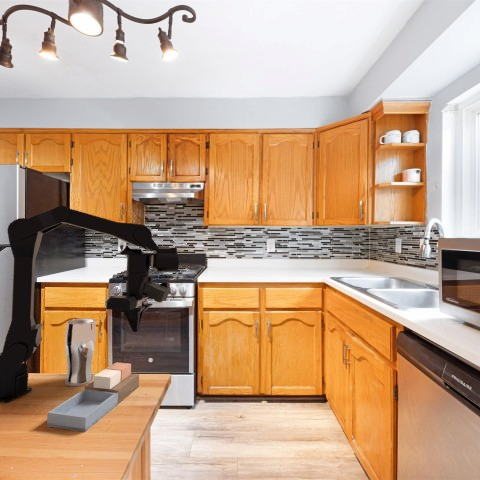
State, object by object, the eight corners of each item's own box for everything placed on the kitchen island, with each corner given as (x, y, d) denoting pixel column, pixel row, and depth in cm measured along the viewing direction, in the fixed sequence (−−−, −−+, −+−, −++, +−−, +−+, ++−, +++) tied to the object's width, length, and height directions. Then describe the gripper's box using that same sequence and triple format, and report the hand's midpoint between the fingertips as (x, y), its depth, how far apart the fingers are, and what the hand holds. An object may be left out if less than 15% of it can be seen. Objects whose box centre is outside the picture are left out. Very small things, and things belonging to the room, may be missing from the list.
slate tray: (46, 426, 57) (47, 412, 57) (84, 400, 68) (84, 388, 68) (85, 431, 56) (85, 417, 56) (117, 404, 66) (118, 392, 66)
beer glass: (56, 383, 76) (59, 321, 77) (82, 373, 82) (85, 317, 83) (74, 389, 73) (77, 325, 73) (100, 379, 79) (102, 320, 79)
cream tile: (93, 387, 67) (93, 375, 67) (104, 380, 71) (105, 369, 71) (110, 389, 67) (110, 377, 67) (120, 381, 71) (120, 370, 71)
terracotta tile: (105, 379, 72) (106, 368, 72) (115, 372, 76) (116, 362, 76) (121, 380, 71) (122, 369, 71) (130, 374, 75) (131, 363, 75)
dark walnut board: (84, 400, 68) (84, 386, 68) (108, 383, 76) (109, 371, 76) (117, 404, 66) (118, 390, 66) (138, 386, 75) (139, 374, 75)
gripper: (149, 275, 71) (147, 344, 70) (179, 271, 89) (178, 325, 89) (106, 273, 73) (103, 340, 72) (144, 270, 91) (142, 323, 91)
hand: (135, 331), depth 81 cm, fingers closed
